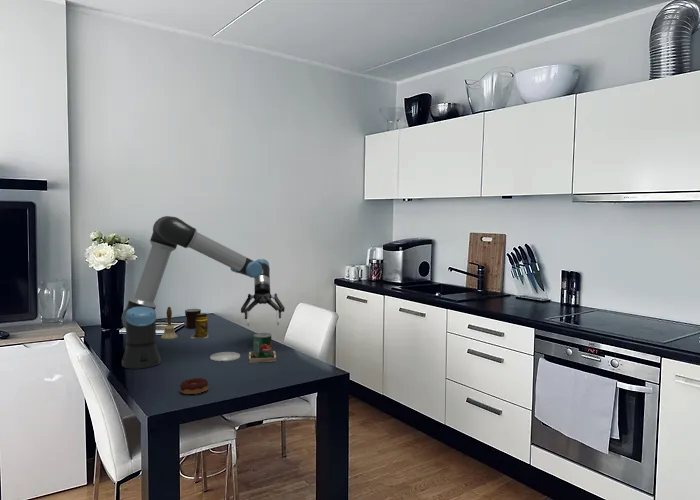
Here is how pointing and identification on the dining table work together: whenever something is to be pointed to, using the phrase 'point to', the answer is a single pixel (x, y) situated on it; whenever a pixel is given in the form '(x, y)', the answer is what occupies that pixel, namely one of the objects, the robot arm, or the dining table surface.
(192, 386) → the donut
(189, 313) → the coffee mug
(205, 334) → the condiment
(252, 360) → the wooden tray
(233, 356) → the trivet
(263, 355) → the canned tomato
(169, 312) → the hand bell
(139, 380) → the dining table surface
